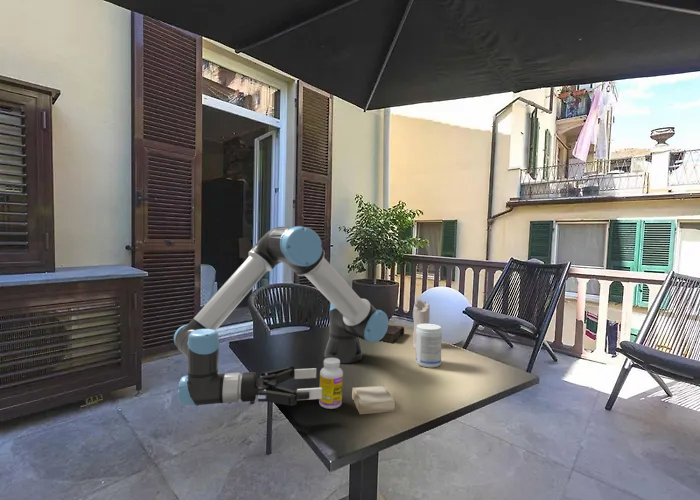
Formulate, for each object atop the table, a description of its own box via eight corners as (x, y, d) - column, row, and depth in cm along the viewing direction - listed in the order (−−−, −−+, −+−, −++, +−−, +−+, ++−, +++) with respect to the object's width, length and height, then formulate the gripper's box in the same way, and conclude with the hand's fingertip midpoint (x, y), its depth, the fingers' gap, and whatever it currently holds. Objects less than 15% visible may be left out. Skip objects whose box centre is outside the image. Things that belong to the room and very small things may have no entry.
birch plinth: (352, 397, 105) (352, 387, 105) (383, 395, 107) (384, 385, 107) (359, 414, 96) (360, 403, 95) (394, 411, 98) (394, 400, 97)
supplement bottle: (333, 412, 96) (334, 366, 96) (314, 405, 100) (315, 361, 99) (346, 402, 102) (347, 359, 101) (328, 396, 105) (329, 354, 105)
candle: (414, 351, 149) (415, 304, 148) (412, 341, 163) (413, 299, 162) (431, 352, 148) (433, 305, 148) (428, 342, 162) (429, 299, 161)
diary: (358, 329, 186) (358, 319, 185) (404, 335, 175) (404, 325, 175) (343, 337, 169) (343, 327, 168) (393, 345, 158) (393, 334, 158)
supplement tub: (446, 365, 134) (447, 327, 133) (428, 370, 128) (429, 330, 128) (427, 357, 142) (428, 322, 141) (410, 362, 136) (411, 324, 136)
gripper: (245, 381, 108) (314, 377, 112) (235, 425, 83) (324, 417, 87) (245, 357, 107) (314, 354, 112) (235, 394, 83) (324, 388, 87)
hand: (318, 382), depth 99 cm, fingers open, 13 cm apart
